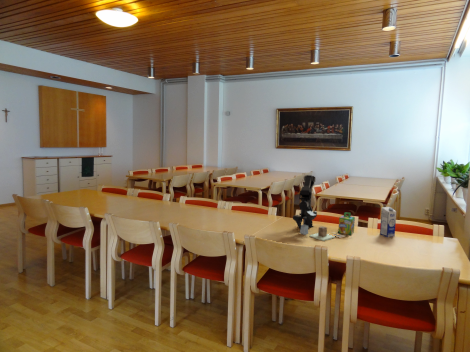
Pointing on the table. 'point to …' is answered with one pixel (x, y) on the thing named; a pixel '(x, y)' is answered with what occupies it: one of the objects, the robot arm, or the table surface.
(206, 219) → the table surface
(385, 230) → the milk carton
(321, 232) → the walnut block
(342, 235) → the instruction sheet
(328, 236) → the plate
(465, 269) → the table surface
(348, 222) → the chalk box
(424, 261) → the table surface
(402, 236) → the table surface
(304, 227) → the gray block
